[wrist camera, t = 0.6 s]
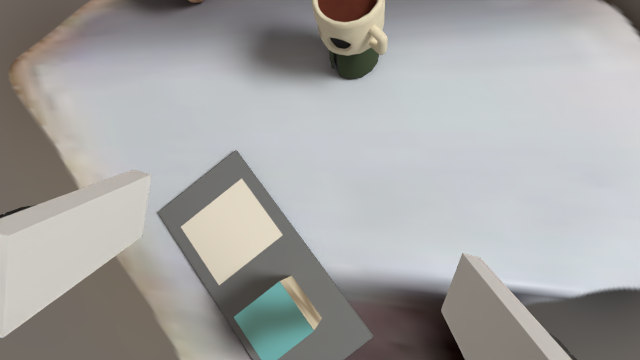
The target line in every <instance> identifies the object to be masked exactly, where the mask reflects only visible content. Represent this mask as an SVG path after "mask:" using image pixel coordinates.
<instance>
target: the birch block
mask: <svg viewBox="0 0 640 360" xmlns="http://www.w3.org/2000/svg"><path fill="white" fill-rule="evenodd" d="M234 319H235V320H236V322H237V323H238V325H239V326H240V328H241V329H242V331H243V332H244V334H245V335H246V337H247V339H248V340H249V342H250V343H251V345H252V346H253V348H254V349H255V351H256V352H257V354H258V355H259V357H260V359H261V360H278V359H279V358H280V357H281V356H283V355H284V354H285V353H287V352H288V351H289V350H290V349H292V348H293V347H294V346H296V345H297V344H298V343H299V342H301V341H302V340H303V339H304V338H306V337H307V336H308V335H310V334H311V333H312V332H313V331H314V330H315V328H316V327H317V325H318V324H319V322H320V321H321V319H322V317H321V316H320V315H319V313H318V312H317V310H316V309H315V308H314V306H313V305H312V303H311V302H310V300H309V299H308V298H307V296H306V295H305V293H304V292H303V291H302V289H301V288H300V286H299V285H298V284H297V282H296V281H295V279H294V278H293V277H292V276H290V277H288V278H285V279H283V280H281V281H279V282H278V283H276V284H275V285H274V286H273V287H271V288H270V289H269V290H268V291H266V292H265V293H264V294H262V295H261V296H260V297H259V298H257V299H256V300H255V301H254V302H252V303H251V304H250V305H248V306H247V307H246V308H245V309H243V310H242V311H241V312H240V313H238V314H237V315H236V316H234Z"/></svg>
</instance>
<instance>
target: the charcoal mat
mask: <svg viewBox="0 0 640 360" xmlns="http://www.w3.org/2000/svg"><path fill="white" fill-rule="evenodd" d="M158 214H159V215H160V217H161V218H162V220H163V221H164V223H165V224H166V226H167V228H168V229H169V231H170V232H171V234H172V235H173V237H174V238H175V240H176V242H177V243H178V245H179V246H180V248H181V249H182V251H183V252H184V254H185V255H186V257H187V259H188V260H189V262H190V263H191V265H192V266H193V268H194V269H195V271H196V272H197V274H198V276H199V277H200V279H201V280H202V282H203V283H204V285H205V286H206V288H207V290H208V291H209V293H210V294H211V296H212V297H213V299H214V300H215V302H216V303H217V305H218V307H219V308H220V310H221V311H222V313H223V314H224V316H225V317H226V319H227V320H228V322H229V324H230V325H231V327H232V328H233V330H234V331H235V333H236V334H237V336H238V338H239V339H240V341H241V342H242V344H243V345H244V347H245V348H246V350H247V351H248V353H249V355H250V356H251V358H252V359H253V360H261V359H260V357H259V355H258V354H257V352H256V351H255V349H254V348H253V346H252V345H251V343H250V342H249V340H248V339H247V337H246V335H245V334H244V332H243V331H242V329H241V328H240V326H239V325H238V323H237V322H236V320H235V319H234V316H236V315H237V314H238V313H240V312H241V311H242V310H243V309H245V308H246V307H247V306H248V305H250V304H251V303H252V302H254V301H255V300H256V299H257V298H259V297H260V296H261V295H262V294H264V293H265V292H266V291H268V290H269V289H270V288H271V287H273V286H274V285H275V284H276V283H278V282H279V281H281V280H283V279H285V278H288V277H290V276H292V277H293V278H294V279H295V281H296V282H297V284H298V285H299V286H300V288H301V289H302V291H303V292H304V293H305V295H306V296H307V298H308V299H309V300H310V302H311V303H312V305H313V306H314V308H315V309H316V310H317V312H318V313H319V315H320V316H321V317H322V319H321V321H320V322H319V324H318V325H317V327H316V328H315V330H314V331H313V332H312V333H311V334H310V335H308V336H307V337H306V338H304V339H303V340H302V341H301V342H299V343H298V344H297V345H296V346H294V347H293V348H292V349H290V350H289V351H288V352H287V353H285V354H284V355H283V356H281V357H280V358H279V359H278V360H344V359H345V358H346V357H348V356H349V355H350V354H352V353H353V352H354V351H355V350H357V349H358V348H359V347H361V346H362V345H363V344H364V343H366V342H367V341H368V340H370V339H371V338H372V337H373V334H372V333H371V332H370V330H369V329H368V328H367V326H366V325H365V324H364V322H363V321H362V320H361V318H360V317H359V316H358V314H357V313H356V311H355V310H354V309H353V307H352V306H351V305H350V303H349V302H348V301H347V299H346V298H345V297H344V295H343V294H342V292H341V291H340V290H339V288H338V287H337V286H336V284H335V283H334V282H333V280H332V279H331V278H330V276H329V275H328V273H327V272H326V271H325V269H324V268H323V267H322V265H321V264H320V263H319V261H318V260H317V259H316V257H315V256H314V255H313V253H312V252H311V250H310V249H309V248H308V246H307V245H306V244H305V242H304V241H303V240H302V238H301V237H300V236H299V234H298V233H297V231H296V230H295V229H294V227H293V226H292V225H291V223H290V222H289V221H288V219H287V218H286V217H285V215H284V214H283V212H282V211H281V210H280V208H279V207H278V206H277V204H276V203H275V202H274V200H273V199H272V198H271V196H270V195H269V194H268V192H267V191H266V189H265V188H264V187H263V185H262V184H261V183H260V181H259V180H258V179H257V177H256V176H255V175H254V173H253V172H252V170H251V169H250V168H249V166H248V165H247V164H246V162H245V161H244V160H243V158H242V157H241V156H240V154H239V153H238V151H234V152H233V153H232V154H231V155H229V156H228V157H227V158H226V159H224V160H223V161H222V162H221V163H219V164H218V165H217V166H216V167H214V168H213V169H212V170H211V171H209V172H208V173H207V174H206V175H204V176H203V177H202V178H200V179H199V180H198V181H197V182H195V183H194V184H193V185H192V186H190V187H189V188H188V189H187V190H185V191H184V192H183V193H182V194H180V195H179V196H178V197H177V198H175V199H174V200H173V201H172V202H170V203H169V204H168V205H167V206H165V207H164V208H163V209H162V210H160V211H159V212H158Z"/></svg>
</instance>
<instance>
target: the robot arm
mask: <svg viewBox="0 0 640 360" xmlns="http://www.w3.org/2000/svg"><path fill="white" fill-rule="evenodd" d="M151 175H152V174H148V173H144V172H140V171H136V170H131V171H128V172H126V173H123V174H120V175H118V176H115V177H112V178H109V179H107V180H104V181H101V182H98V183H96V184H93V185H90V186H87V187H85V188H82V189H79V190H77V191H74V192H71V193H69V194H66V195H63V196H60V197H58V198H55V199H52V200H49V201H47V202H44V203H41V204H38V205H33V206H28V207H21V208H18V209H16V210H13V211H10V212H7V213H6V214H5V215H3V214H2V215H0V337H1V338H3V337H5V336H6V335H7V334H9V333H10V332H12V331H13V330H14V329H16V328H17V327H19V326H20V325H21V324H23V323H24V322H25V321H27V320H28V319H30V318H31V317H32V316H34V315H35V314H36V313H38V312H39V311H40V310H42V309H43V308H45V307H46V306H47V305H49V304H50V303H51V302H53V301H54V300H55V299H57V298H58V297H60V296H61V295H62V294H64V293H65V292H67V291H68V290H69V289H71V288H72V287H73V286H75V285H76V284H77V283H79V282H80V281H82V280H83V279H84V278H86V277H87V276H88V275H90V274H91V273H93V272H94V271H95V270H96V269H98V268H99V267H101V266H102V265H103V264H105V263H106V262H108V261H109V260H110V259H112V258H113V257H115V256H116V255H117V254H119V253H120V252H121V251H123V250H124V249H125V248H127V247H128V246H130V245H131V244H132V243H134V242H135V241H136V240H138V239H139V238H141V237H142V236H143V229H144V222H145V216H146V209H147V202H148V195H149V188H150V182H151ZM441 312H442V314H443V316H444V318H445V320H446V322H447V324H448V326H449V328H450V330H451V332H452V334H453V336H454V338H455V340H456V342H457V344H458V346H459V348H460V350H461V352H462V354H463V356H464V358H465V360H577V359H576V358H575V357H574V356H573V355H571V354H570V352H569V351H568V350H567V348H566V347H565V346H564V345H563V344H562V343H561V342H560V341H559V340H558V339H557V338H555V337H554V336H553V335H551V334H550V333H549V332H547V331H546V330H545V329H544V328H543V327H542V326H541V325H540V323H539V322H538V321H537V320H536V319H535V318H534V317H533V316H532V315H531V313H530V312H529V311H528V310H527V309H526V308H525V307H524V306H523V305H522V303H521V302H520V301H519V300H518V299H517V298H516V297H515V296H514V295H513V293H512V292H511V291H510V290H509V289H508V288H507V287H506V286H505V285H504V283H503V282H502V281H501V280H500V279H499V278H498V277H497V276H496V275H495V273H494V272H493V271H492V270H491V269H490V268H489V267H488V266H487V265H486V264H485V262H484V261H483V260H482V259H481V258H479V257H475V256H472V255H468V254H464V253H462V256H461V258H460V261H459V264H458V266H457V269H456V272H455V274H454V277H453V280H452V283H451V285H450V288H449V291H448V293H447V296H446V299H445V301H444V304H443V307H442V309H441Z"/></svg>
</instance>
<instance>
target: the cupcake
mask: <svg viewBox="0 0 640 360" xmlns="http://www.w3.org/2000/svg"><path fill="white" fill-rule="evenodd" d="M188 1H190V2H192V3H200V2H203V1H204V0H188Z"/></svg>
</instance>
